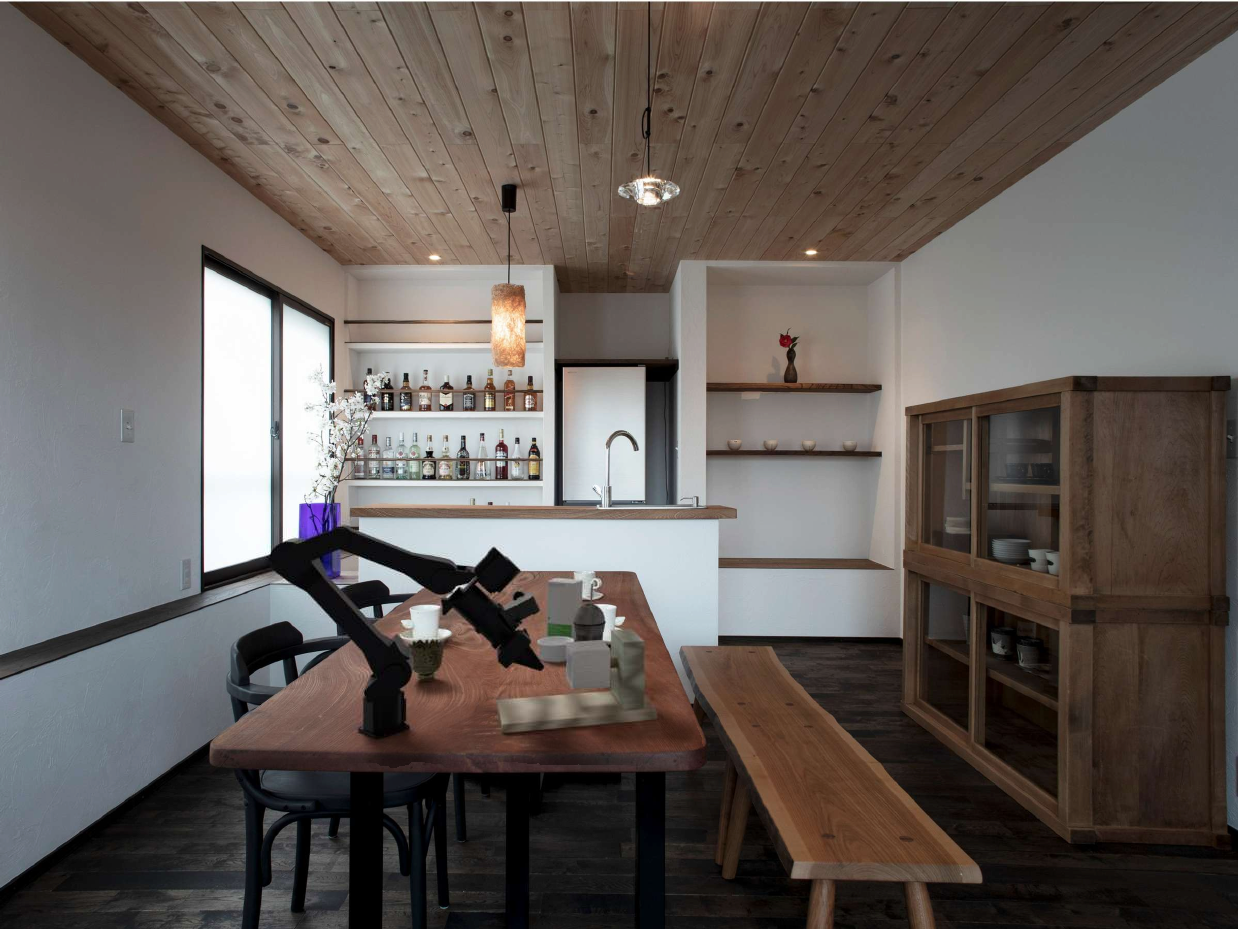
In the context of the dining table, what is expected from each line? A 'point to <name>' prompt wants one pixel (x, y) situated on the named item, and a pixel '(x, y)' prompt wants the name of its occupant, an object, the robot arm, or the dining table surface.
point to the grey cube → (588, 664)
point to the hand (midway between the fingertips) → (542, 668)
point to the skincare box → (563, 606)
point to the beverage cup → (589, 622)
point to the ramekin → (553, 648)
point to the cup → (427, 658)
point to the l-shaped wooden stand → (588, 696)
